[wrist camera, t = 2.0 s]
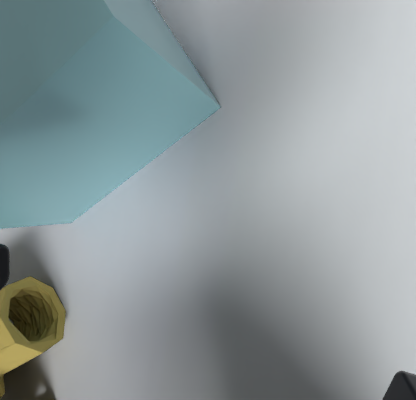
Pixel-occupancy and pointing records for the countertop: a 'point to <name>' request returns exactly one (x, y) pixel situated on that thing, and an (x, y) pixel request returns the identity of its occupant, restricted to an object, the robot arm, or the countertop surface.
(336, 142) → the countertop surface
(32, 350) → the ball valve
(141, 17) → the crate
